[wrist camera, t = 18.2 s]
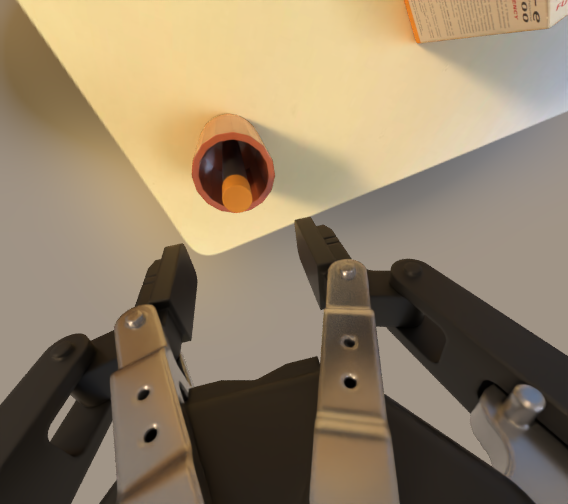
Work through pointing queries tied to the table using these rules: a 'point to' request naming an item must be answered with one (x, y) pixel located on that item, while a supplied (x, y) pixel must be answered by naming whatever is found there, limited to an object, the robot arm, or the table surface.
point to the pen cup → (210, 160)
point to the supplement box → (480, 17)
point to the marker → (234, 179)
